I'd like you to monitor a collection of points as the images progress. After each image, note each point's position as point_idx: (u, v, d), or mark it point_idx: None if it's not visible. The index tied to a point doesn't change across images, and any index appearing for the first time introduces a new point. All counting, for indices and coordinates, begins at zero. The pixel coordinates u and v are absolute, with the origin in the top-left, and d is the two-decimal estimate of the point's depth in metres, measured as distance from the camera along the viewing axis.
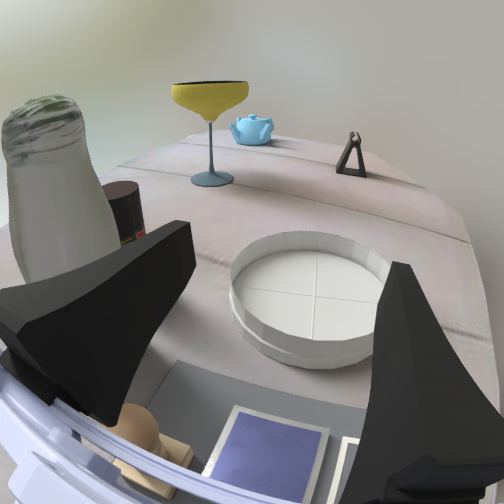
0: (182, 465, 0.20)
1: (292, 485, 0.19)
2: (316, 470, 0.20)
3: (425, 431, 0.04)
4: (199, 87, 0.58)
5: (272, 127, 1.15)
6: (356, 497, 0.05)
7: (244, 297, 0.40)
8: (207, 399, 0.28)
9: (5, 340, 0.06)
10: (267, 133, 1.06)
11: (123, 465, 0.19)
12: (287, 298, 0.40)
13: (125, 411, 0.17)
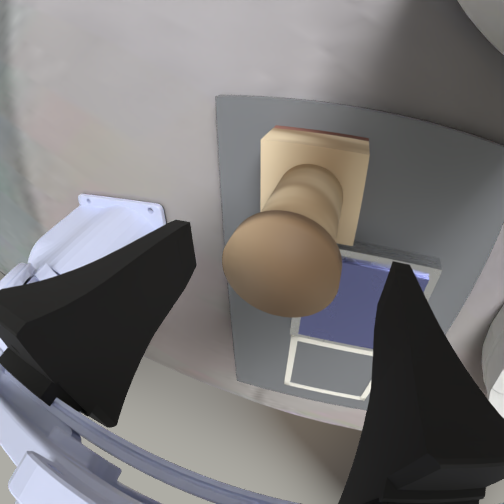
0: None
1: (325, 330, 0.22)
2: (346, 344, 0.23)
3: (425, 431, 0.04)
4: None
5: None
6: (356, 497, 0.05)
7: None
8: (457, 218, 0.15)
9: (5, 340, 0.06)
10: None
11: (275, 159, 0.14)
12: None
13: (314, 264, 0.10)
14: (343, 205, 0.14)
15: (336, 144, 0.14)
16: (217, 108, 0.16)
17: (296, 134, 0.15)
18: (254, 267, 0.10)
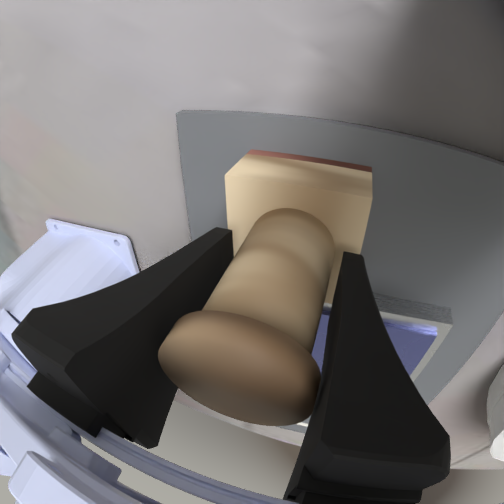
0: None
1: None
2: None
3: (326, 417, 0.04)
4: None
5: None
6: (291, 486, 0.06)
7: None
8: (476, 265, 0.12)
9: (38, 366, 0.05)
10: None
11: (245, 201, 0.11)
12: None
13: (277, 388, 0.06)
14: (335, 260, 0.11)
15: (327, 180, 0.10)
16: (179, 128, 0.13)
17: (275, 164, 0.11)
18: (199, 377, 0.07)
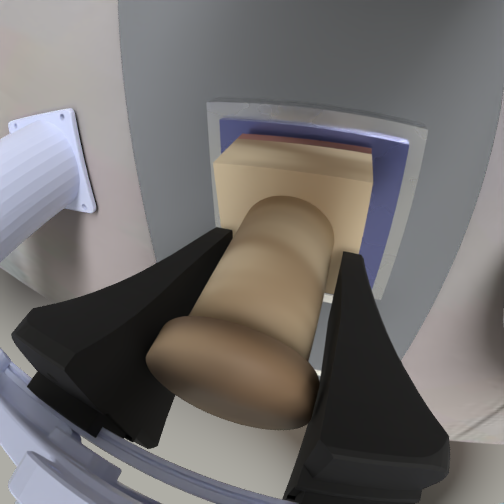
0: None
1: None
2: None
3: (326, 417, 0.04)
4: None
5: None
6: (290, 486, 0.06)
7: None
8: (435, 56, 0.09)
9: (38, 366, 0.05)
10: None
11: (236, 189, 0.10)
12: None
13: (271, 397, 0.06)
14: (334, 249, 0.10)
15: (323, 164, 0.09)
16: None
17: (267, 148, 0.10)
18: (190, 384, 0.07)
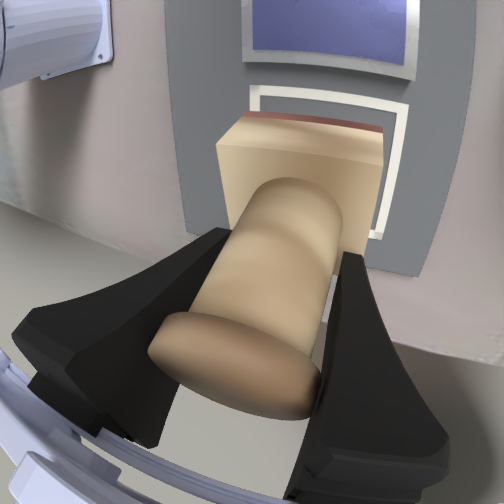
0: None
1: (290, 30, 0.12)
2: (329, 61, 0.13)
3: (326, 417, 0.04)
4: None
5: None
6: (290, 486, 0.06)
7: None
8: None
9: (38, 366, 0.05)
10: None
11: (240, 170, 0.10)
12: None
13: (271, 394, 0.06)
14: (343, 232, 0.10)
15: (331, 145, 0.09)
16: None
17: (273, 126, 0.10)
18: (192, 376, 0.07)
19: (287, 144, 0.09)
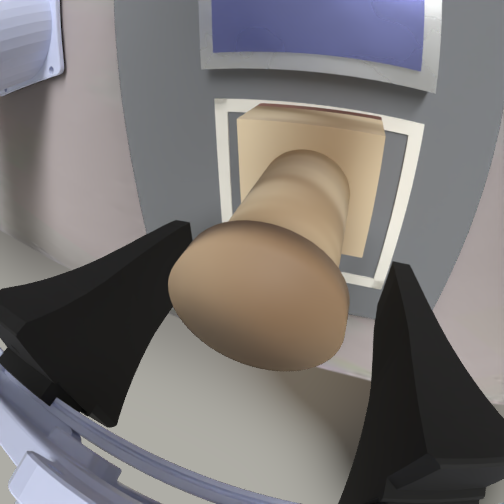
0: None
1: (262, 23, 0.09)
2: (317, 65, 0.09)
3: (425, 431, 0.04)
4: None
5: None
6: (356, 497, 0.05)
7: None
8: None
9: (5, 340, 0.06)
10: None
11: (257, 144, 0.10)
12: None
13: (304, 307, 0.06)
14: (350, 205, 0.11)
15: (339, 122, 0.10)
16: None
17: (286, 111, 0.11)
18: (214, 307, 0.07)
19: (301, 120, 0.10)
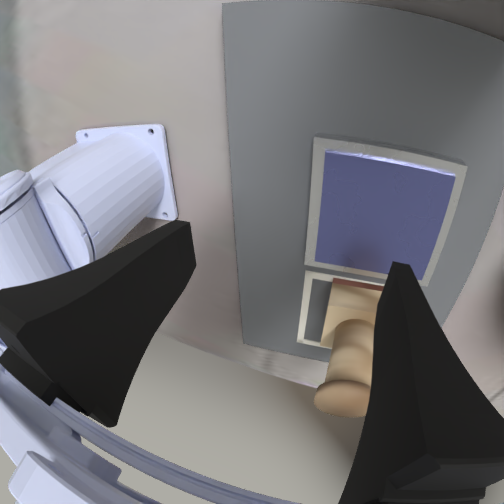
0: None
1: (345, 253, 0.20)
2: (369, 273, 0.20)
3: (425, 431, 0.04)
4: None
5: None
6: (356, 497, 0.05)
7: None
8: (474, 113, 0.13)
9: (5, 340, 0.06)
10: None
11: (336, 315, 0.21)
12: None
13: (364, 403, 0.16)
14: None
15: (376, 305, 0.20)
16: (223, 13, 0.14)
17: (350, 292, 0.21)
18: (332, 402, 0.17)
19: (359, 306, 0.20)
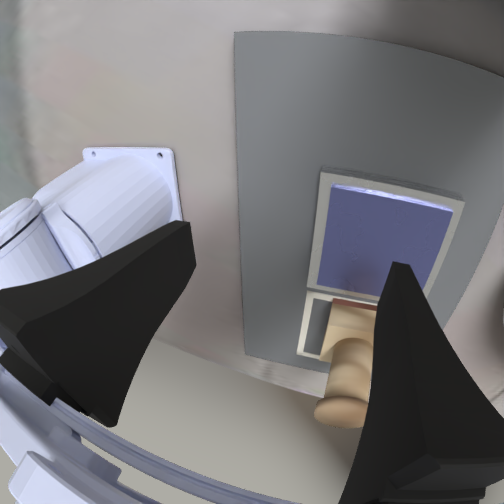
0: None
1: (346, 278, 0.21)
2: (368, 296, 0.21)
3: (425, 431, 0.04)
4: None
5: None
6: (356, 497, 0.05)
7: None
8: (474, 150, 0.14)
9: (5, 340, 0.06)
10: None
11: (335, 334, 0.22)
12: None
13: (360, 416, 0.18)
14: None
15: (373, 325, 0.22)
16: (235, 42, 0.15)
17: (349, 312, 0.23)
18: (331, 415, 0.19)
19: (357, 326, 0.22)
